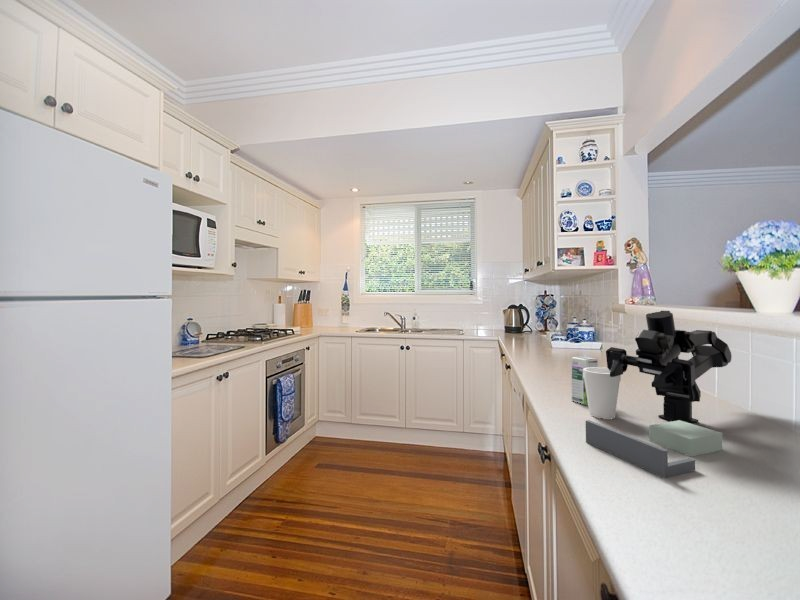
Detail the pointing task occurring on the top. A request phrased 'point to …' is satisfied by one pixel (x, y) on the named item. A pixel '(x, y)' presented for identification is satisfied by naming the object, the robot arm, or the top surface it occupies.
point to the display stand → (636, 451)
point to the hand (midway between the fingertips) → (630, 379)
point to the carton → (685, 437)
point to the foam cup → (601, 392)
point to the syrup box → (580, 377)
